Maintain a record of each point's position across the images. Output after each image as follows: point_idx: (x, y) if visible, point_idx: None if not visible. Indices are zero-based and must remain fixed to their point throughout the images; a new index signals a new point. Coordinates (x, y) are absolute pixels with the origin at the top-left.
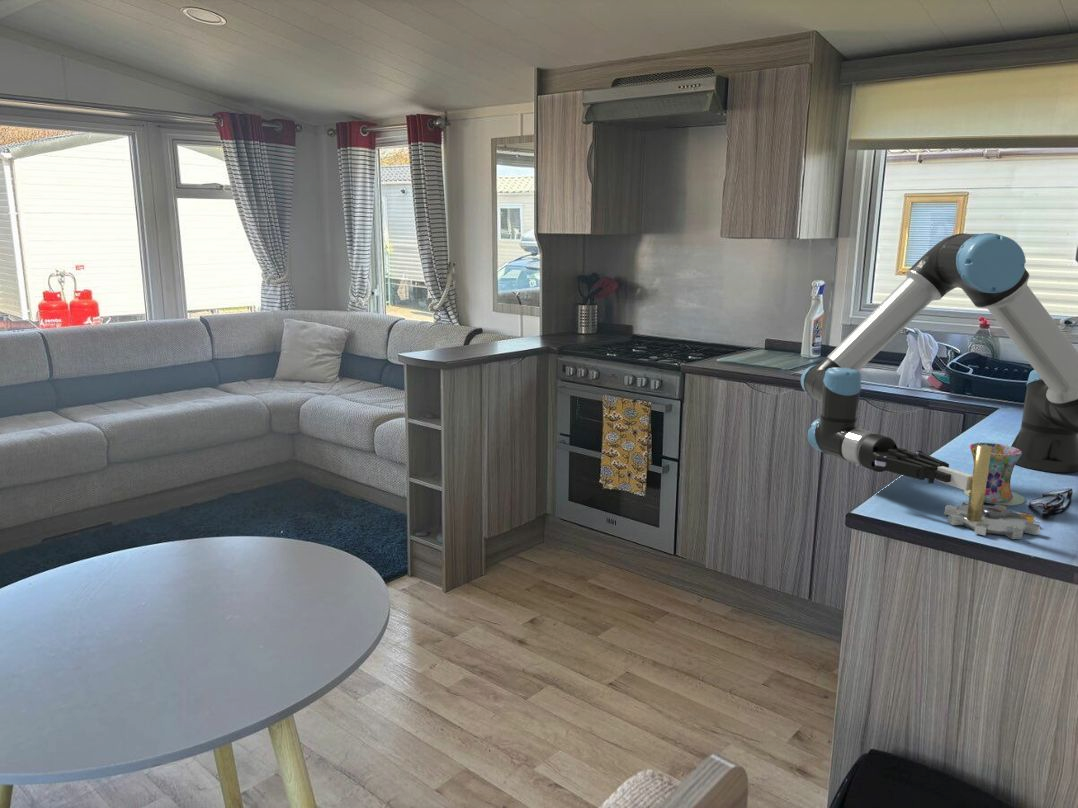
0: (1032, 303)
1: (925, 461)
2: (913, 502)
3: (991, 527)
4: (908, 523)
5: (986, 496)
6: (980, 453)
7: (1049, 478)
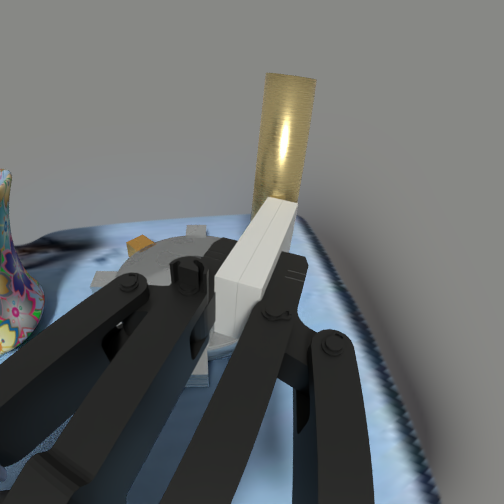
0: None
1: (152, 384)
2: (137, 496)
3: None
4: (371, 423)
5: (37, 307)
6: (313, 101)
7: None
